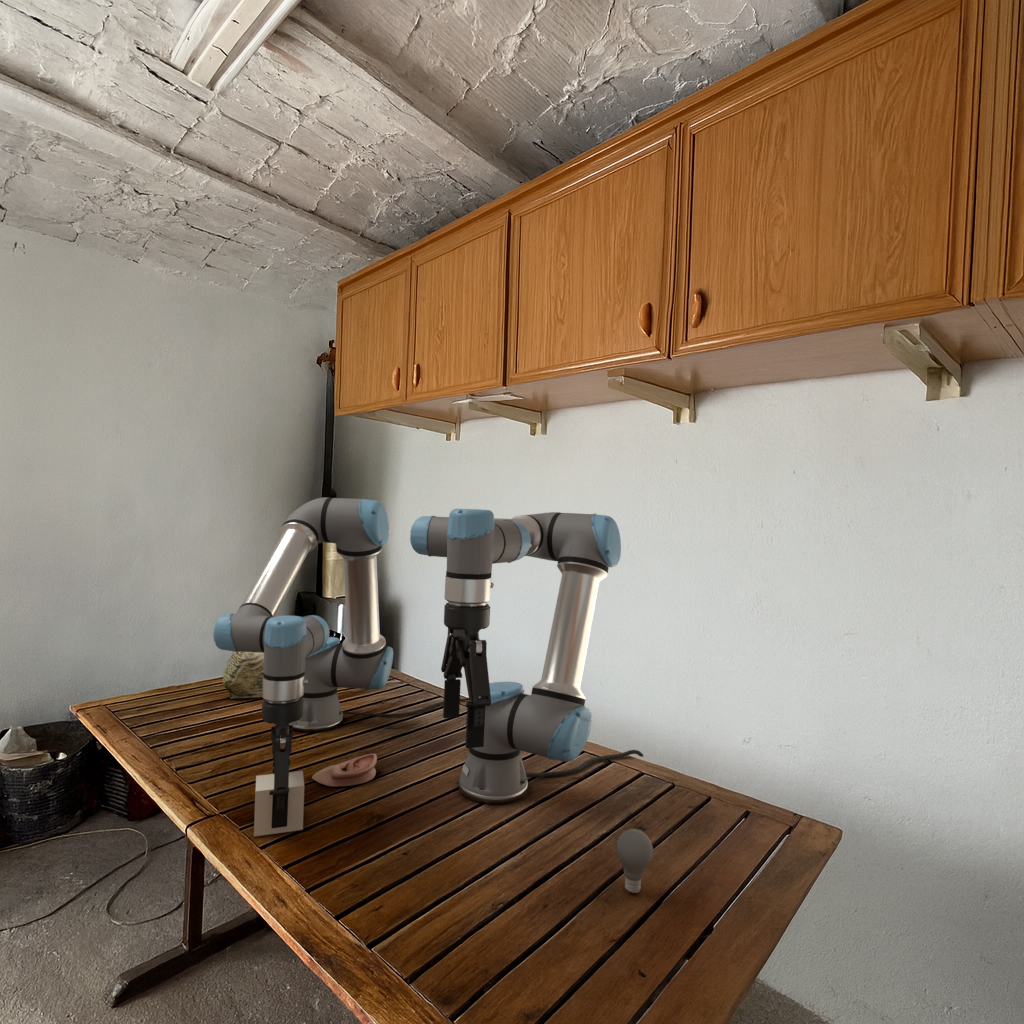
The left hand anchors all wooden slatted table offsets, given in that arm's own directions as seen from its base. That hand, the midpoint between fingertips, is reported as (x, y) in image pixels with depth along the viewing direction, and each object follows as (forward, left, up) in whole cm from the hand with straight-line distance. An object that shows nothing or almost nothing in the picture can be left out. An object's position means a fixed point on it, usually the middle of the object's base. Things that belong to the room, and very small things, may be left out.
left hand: (278, 813), depth 122 cm
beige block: (0, 0, -2) cm, 2 cm away
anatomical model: (-21, -8, -2) cm, 23 cm away
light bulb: (-28, +61, -2) cm, 67 cm away
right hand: (-9, +39, +24) cm, 46 cm away
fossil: (-37, -75, -2) cm, 84 cm away
